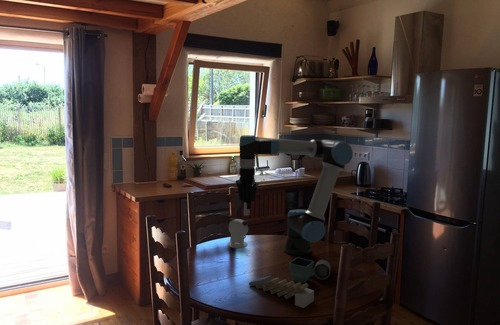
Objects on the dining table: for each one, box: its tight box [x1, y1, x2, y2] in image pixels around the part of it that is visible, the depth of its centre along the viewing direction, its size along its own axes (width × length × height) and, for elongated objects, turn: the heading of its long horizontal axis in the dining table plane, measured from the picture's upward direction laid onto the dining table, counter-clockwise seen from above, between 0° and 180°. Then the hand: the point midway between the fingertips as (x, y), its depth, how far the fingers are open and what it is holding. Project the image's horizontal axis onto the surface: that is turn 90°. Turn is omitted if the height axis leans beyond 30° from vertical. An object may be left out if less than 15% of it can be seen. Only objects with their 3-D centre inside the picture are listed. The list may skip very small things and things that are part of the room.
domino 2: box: [254, 277, 281, 290], centre depth 178 cm, size 2×5×10 cm
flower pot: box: [288, 257, 315, 284], centre depth 187 cm, size 9×9×9 cm
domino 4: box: [269, 280, 296, 295], centre depth 173 cm, size 2×5×10 cm
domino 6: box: [283, 282, 309, 300], centre depth 169 cm, size 2×5×10 cm
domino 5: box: [276, 282, 303, 298], centre depth 171 cm, size 2×5×10 cm
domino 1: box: [248, 274, 274, 287], centre depth 180 cm, size 2×5×10 cm
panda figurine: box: [227, 217, 250, 249], centre depth 235 cm, size 12×11×15 cm
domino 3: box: [262, 278, 288, 292], centre depth 175 cm, size 2×5×10 cm
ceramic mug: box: [310, 259, 332, 281], centre depth 193 cm, size 11×8×8 cm
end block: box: [294, 287, 315, 309], centre depth 166 cm, size 4×8×4 cm, turn 141°
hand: (246, 214), depth 200 cm, fingers closed
